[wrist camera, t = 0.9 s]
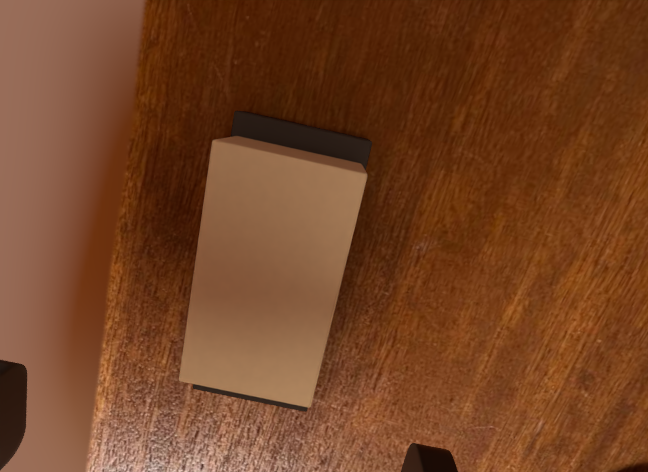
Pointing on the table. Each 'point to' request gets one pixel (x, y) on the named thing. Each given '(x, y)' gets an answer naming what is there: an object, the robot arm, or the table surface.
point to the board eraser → (271, 258)
